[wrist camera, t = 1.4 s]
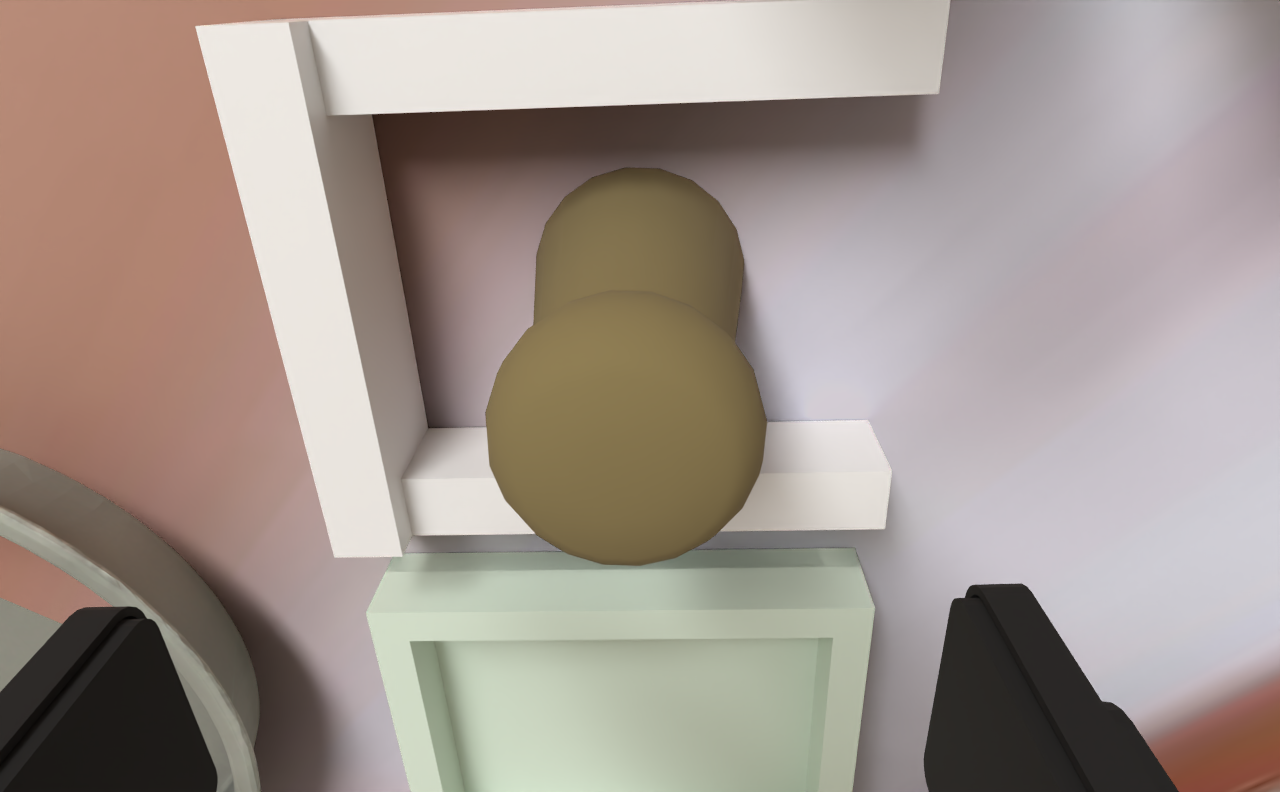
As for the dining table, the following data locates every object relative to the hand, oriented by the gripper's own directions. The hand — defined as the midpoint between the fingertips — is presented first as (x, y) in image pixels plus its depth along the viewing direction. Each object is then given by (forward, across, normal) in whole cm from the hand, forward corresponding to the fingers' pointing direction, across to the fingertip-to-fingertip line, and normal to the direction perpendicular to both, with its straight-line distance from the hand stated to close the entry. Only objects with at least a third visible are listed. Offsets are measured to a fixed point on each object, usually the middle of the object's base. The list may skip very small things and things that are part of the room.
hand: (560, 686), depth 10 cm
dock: (+15, -1, 0) cm, 15 cm away
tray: (+15, 0, +17) cm, 23 cm away
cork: (+16, -1, 0) cm, 16 cm away
